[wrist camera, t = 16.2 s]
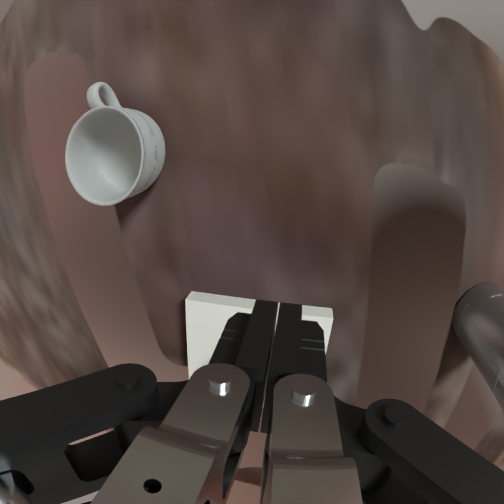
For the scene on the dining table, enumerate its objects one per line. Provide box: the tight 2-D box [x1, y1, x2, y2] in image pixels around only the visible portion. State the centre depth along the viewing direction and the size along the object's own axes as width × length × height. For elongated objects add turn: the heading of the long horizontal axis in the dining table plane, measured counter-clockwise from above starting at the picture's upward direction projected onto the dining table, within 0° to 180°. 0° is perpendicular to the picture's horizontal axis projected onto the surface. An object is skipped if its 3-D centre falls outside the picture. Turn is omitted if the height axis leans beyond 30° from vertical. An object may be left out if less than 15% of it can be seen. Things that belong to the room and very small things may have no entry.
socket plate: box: [185, 291, 333, 379], centre depth 41 cm, size 18×14×2 cm
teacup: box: [65, 82, 165, 206], centre depth 33 cm, size 14×11×8 cm
